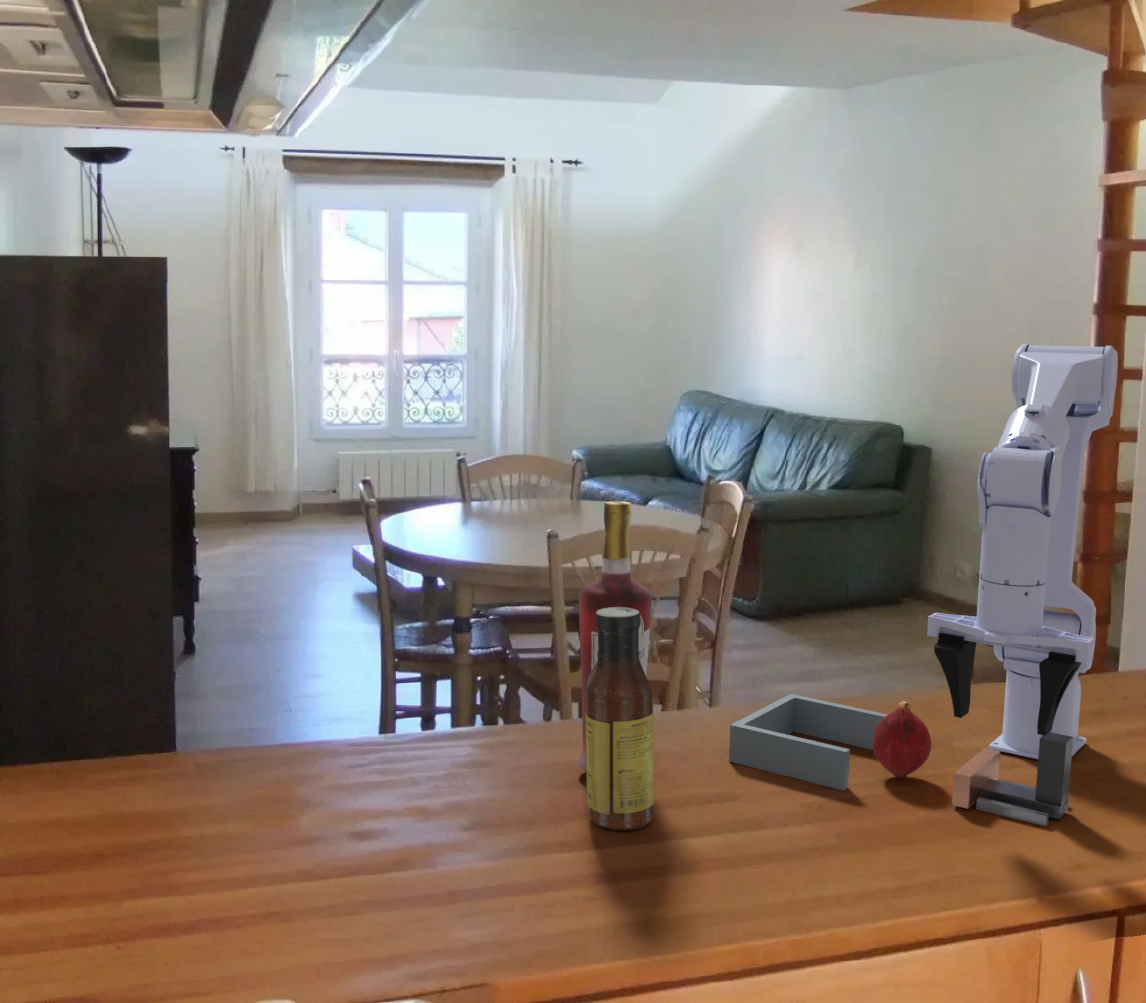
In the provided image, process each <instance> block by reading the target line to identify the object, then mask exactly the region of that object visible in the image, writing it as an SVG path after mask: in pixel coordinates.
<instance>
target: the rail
mask: <svg viewBox="0 0 1146 1003" xmlns="http://www.w3.org/2000/svg"><path fill="white" fill-rule="evenodd" d="M998 781H1001V782H1005V783H1010V784H1014V785H1018V786H1022V787H1027V788H1031V789H1035V790H1036V786H1035V787H1034V786H1032V785H1031V786H1030V785H1026V784H1022V783H1018V782H1014V781H1010V780H1005V779H1002V778H1000V779H999V778H998ZM975 806H976V807H975V809H976V810H977V811H981V812H985V813H988V814H993V815H997V816H1001V817H1005V818H1010V819H1013V820H1018V821H1021V822H1026V823H1029V824H1034V825H1037V826H1042V827H1045V828H1046V827H1047V826H1048V825H1049V819H1050V817H1049V814H1048V813H1044V812H1040V811H1035V810H1031V809H1027V808H1023V807H1019V806H1015V805H1011V804H1006V803H1002V802H998V801H994V800H990V799H986V798H982V797H979V798H978V799H977V801H976V803H975Z"/></svg>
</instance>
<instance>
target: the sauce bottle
mask: <svg viewBox="0 0 1146 1003" xmlns="http://www.w3.org/2000/svg"><path fill="white" fill-rule="evenodd" d="M640 624H641V623H640V612H639V611H638V610H636V609H631V608H627V607H610V608H604V609H600V610H598V611H597V612H596V627H597V629H598V652H597V656H598V661H597V662H596V664H595V666H594V668H593V669H592V671H591V673H590V674H589V676H588V679H587V687H586V696H587V697H586V698H587V699H586V700H587V711H586V753H587V773H586V804H587V806H588V814H589V817H590V820H591V821H592V823H593V824H594V825H596V826H600V827H603V828H606V829H608V830H611V831H633V830H637V829H641V828H643V827H646V826H647V825H649V824H650V822H651V821H652V819H653V817H654V803H655V761H654V760H655V759H654V758H655V757H654V755H655V754H654V753H655V752H654V750H655V748H654V745H655V744H654V742H655V740H654V705H653V697H652V696H653V695H652V687H651V684H650V683H649V682H650V681H649V680H648V678H647V674H646V675H645V673H644V670H643V668H642V665H641V663H640V660H639V654H640V653H639V650H638V630H639V627H640Z"/></svg>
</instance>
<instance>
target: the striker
mask: <svg viewBox="0 0 1146 1003" xmlns="http://www.w3.org/2000/svg"><path fill="white" fill-rule="evenodd" d="M1072 745H1073V737H1071V736H1066V735H1061V734H1057V733H1052V732H1049V733H1048V734H1047V735H1046V736H1044V735H1043V736H1042V737H1041V738H1040V742H1039V756H1038V759H1037V773H1036V784H1035V787H1036V790H1035V789H1031V788H1027V787H1022V786H1018V785H1014V784H1010V783H1005V782H1001V781H998V780H999V776H1000V775H999V774H1000V764H1001V763H1000V761H1001V751H998V750H993V749H990V748H987V747H984V748H983V749H981V750H980V751H978V753H977V754H975V755H974V756H973V757H971V758H970V759H969V760H968V761H967V762H965V763H964V764H963V765H962V766H961V767H959V768H958V769H957V770H955V772H954V773H953V780H952V781H953V782H952V783H953V784H952V798H951V806H955V807H959V808H963V809H966V810H967V809H968V810H969V809H970V808H971V807H972V806H973V805H974V804H976V803H977V799H978V798H979V797H982V798H986V799H990V800H994V801H998V802H1002V803H1006V804H1011V805H1015V806H1019V807H1023V808H1027V809H1031V810H1035V811H1040V812H1044V813H1048V814H1049V818H1053V819H1057V820H1060V819H1061V818H1063V816H1064V814H1065V813H1067V811H1068V810H1069V802H1070V797H1069V793H1070V781H1071V779H1070V778H1071V767H1072V757H1073V756H1072Z"/></svg>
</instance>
